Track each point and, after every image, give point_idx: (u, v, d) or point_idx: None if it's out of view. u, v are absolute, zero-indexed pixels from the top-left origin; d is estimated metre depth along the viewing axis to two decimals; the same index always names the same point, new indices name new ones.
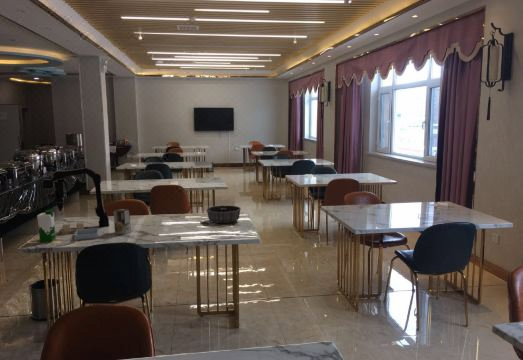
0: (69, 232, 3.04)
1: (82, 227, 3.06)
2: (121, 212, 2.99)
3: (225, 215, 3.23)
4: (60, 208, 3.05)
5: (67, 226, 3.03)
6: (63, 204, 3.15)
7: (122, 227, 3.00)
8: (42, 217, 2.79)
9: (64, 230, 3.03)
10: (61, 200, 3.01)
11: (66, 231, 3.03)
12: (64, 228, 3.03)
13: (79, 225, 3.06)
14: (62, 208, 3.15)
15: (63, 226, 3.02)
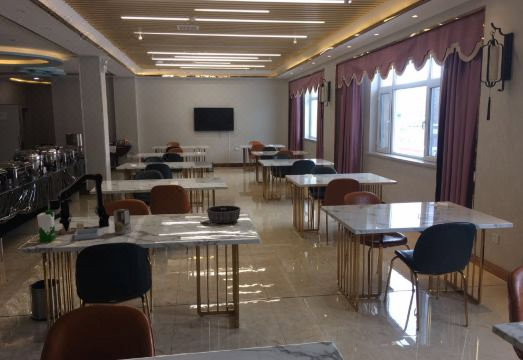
0: (69, 232, 3.04)
1: (82, 227, 3.06)
2: (121, 212, 2.99)
3: (225, 215, 3.23)
4: (66, 228, 3.02)
5: None
6: None
7: (122, 227, 3.00)
8: (42, 217, 2.79)
9: (64, 230, 3.03)
10: (67, 221, 2.96)
11: (66, 231, 3.03)
12: None
13: (79, 225, 3.06)
14: None
15: (63, 226, 3.02)
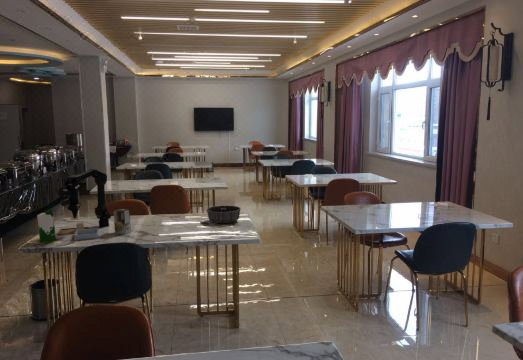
0: (69, 232, 3.04)
1: (82, 227, 3.06)
2: (121, 212, 2.99)
3: (225, 215, 3.23)
4: (75, 215, 2.93)
5: None
6: None
7: (122, 227, 3.00)
8: (42, 217, 2.79)
9: (72, 217, 2.93)
10: (75, 207, 2.86)
11: (74, 218, 2.94)
12: (72, 215, 2.93)
13: (79, 225, 3.06)
14: None
15: (71, 213, 2.93)
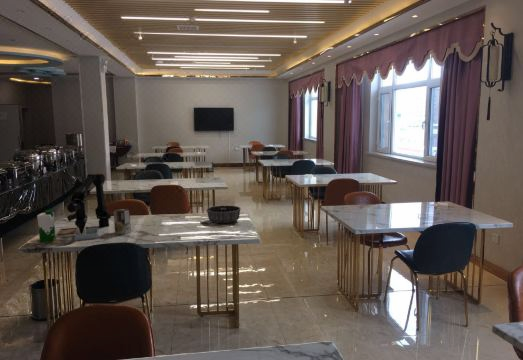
0: (69, 232, 3.04)
1: None
2: (121, 212, 2.99)
3: (225, 215, 3.23)
4: (81, 230, 2.88)
5: (83, 230, 2.92)
6: None
7: (122, 227, 3.00)
8: (42, 217, 2.79)
9: None
10: (83, 222, 2.84)
11: None
12: (79, 232, 2.91)
13: None
14: None
15: (79, 230, 2.91)
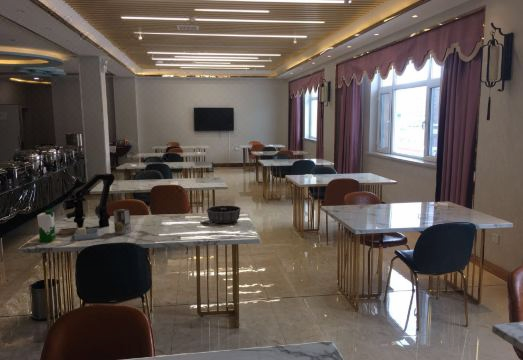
0: (69, 232, 3.04)
1: (82, 227, 3.06)
2: (121, 212, 2.99)
3: (225, 215, 3.23)
4: (80, 227, 3.05)
5: (83, 230, 2.92)
6: None
7: (122, 227, 3.00)
8: (42, 217, 2.79)
9: None
10: (81, 220, 2.99)
11: None
12: (79, 232, 2.91)
13: None
14: None
15: (79, 230, 2.91)
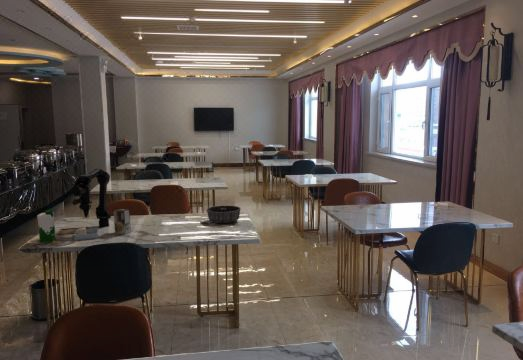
0: (69, 232, 3.04)
1: (88, 214, 2.95)
2: (121, 212, 2.99)
3: (225, 215, 3.23)
4: (86, 214, 2.94)
5: (83, 230, 2.92)
6: None
7: (122, 227, 3.00)
8: (42, 217, 2.79)
9: None
10: (87, 206, 2.88)
11: None
12: (79, 232, 2.91)
13: None
14: None
15: (79, 230, 2.91)
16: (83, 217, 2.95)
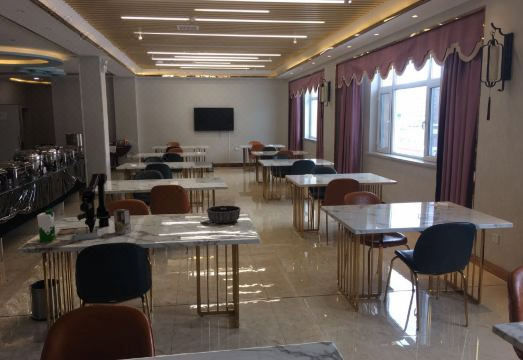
0: (69, 232, 3.04)
1: (93, 232, 2.94)
2: (121, 212, 2.99)
3: (225, 215, 3.23)
4: (91, 229, 2.90)
5: (83, 230, 2.92)
6: None
7: (122, 227, 3.00)
8: (42, 217, 2.79)
9: None
10: (93, 221, 2.86)
11: None
12: (79, 232, 2.91)
13: None
14: None
15: (79, 230, 2.91)
16: None
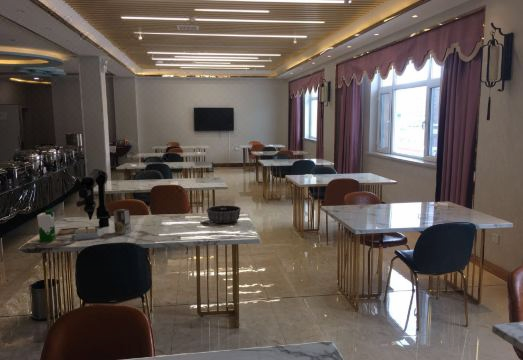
0: (69, 232, 3.04)
1: (93, 232, 2.94)
2: (121, 212, 2.99)
3: (225, 215, 3.23)
4: (90, 216, 2.89)
5: (83, 230, 2.92)
6: None
7: (122, 227, 3.00)
8: (42, 217, 2.79)
9: None
10: (92, 208, 2.84)
11: None
12: (79, 232, 2.91)
13: (90, 230, 2.93)
14: None
15: (79, 230, 2.91)
16: None
